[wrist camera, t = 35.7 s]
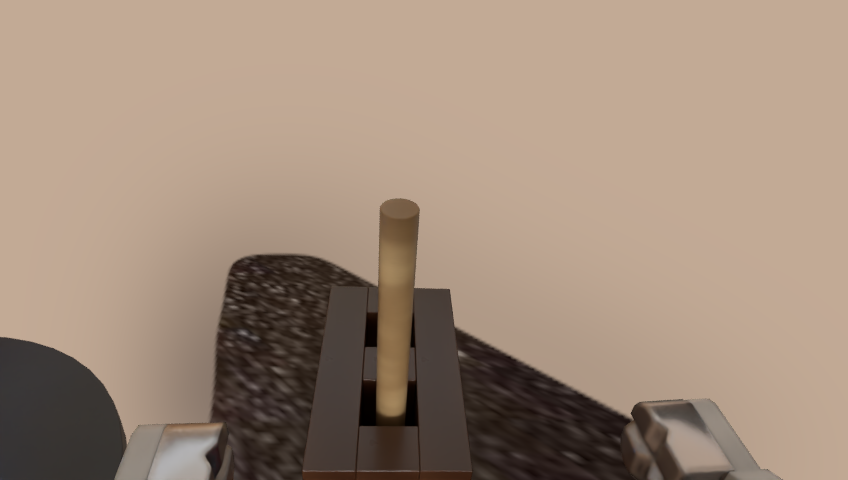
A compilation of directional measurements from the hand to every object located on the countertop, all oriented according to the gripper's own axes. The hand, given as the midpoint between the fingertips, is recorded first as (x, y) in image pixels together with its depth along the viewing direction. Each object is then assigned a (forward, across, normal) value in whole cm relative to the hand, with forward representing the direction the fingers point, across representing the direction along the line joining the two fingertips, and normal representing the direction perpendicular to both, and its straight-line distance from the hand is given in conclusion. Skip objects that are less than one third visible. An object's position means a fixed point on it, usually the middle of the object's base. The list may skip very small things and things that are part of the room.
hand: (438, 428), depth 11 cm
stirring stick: (+12, 0, +22) cm, 25 cm away
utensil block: (+15, 0, +22) cm, 27 cm away
